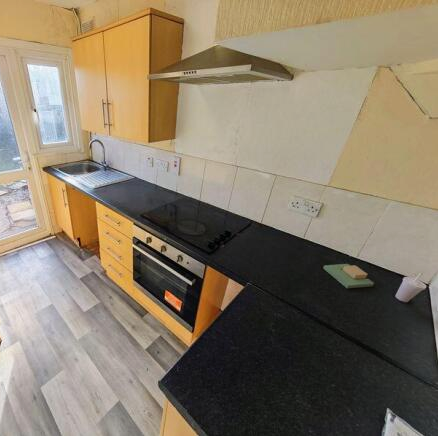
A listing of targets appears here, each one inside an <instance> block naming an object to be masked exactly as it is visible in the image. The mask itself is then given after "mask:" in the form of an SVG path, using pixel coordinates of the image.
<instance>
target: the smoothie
mask: <svg viewBox="0 0 438 436" xmlns="http://www.w3.org/2000/svg"><path fill="white" fill-rule="evenodd" d="M422 275H423V272H420V273H419V274H418V275H417V276H416V277H412V276H404V277H403V278H402V282H401V284H400V286H399V288H398V289H397V291H396V294H395V295H394V297H395V298H396V299H397V300H399V301H401V302H403V303H408V302H409V301H410V300H411V299H413V298H414V297H415V296H417V295H419V293H420V292H422V291H424V290H426V288H427V285H426V283H424V282H423V281H422V280H419V278H420V277H421V276H422Z"/></svg>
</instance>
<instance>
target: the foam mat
mask: <svg viewBox="0 0 438 436" xmlns="http://www.w3.org/2000/svg"><path fill="white" fill-rule="evenodd" d="M344 266H351V264H349V263H340V264H326V265H323V268H322V269H324V271H326V272H327V273H328V274H329V275H330V276H332V278H334V279H335V280H336V281H337V282H339V283H340V284H341V285H342V286H343V287H344V288H346V289H355V288H365V287H366V288H367V287H373V286H374V284H375V282H373V281H372V280H370V279H369V278H365V279H358V280H354V279H353V278H351V277H350V276H349V275H347V274H346V273H345V272H344V271H342V270H343V268H344Z"/></svg>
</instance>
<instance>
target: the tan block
mask: <svg viewBox="0 0 438 436" xmlns="http://www.w3.org/2000/svg"><path fill="white" fill-rule="evenodd" d="M342 271H344V272H345V273H346V274H347V275H349V276H350V277H351V278H353V279H354V280H358V279H367V276H368V274H369V273H367V272H365V271H364V270H362V269H361V268H360V267H358V266H357V265H350V266H344V268H343V270H342Z"/></svg>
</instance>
